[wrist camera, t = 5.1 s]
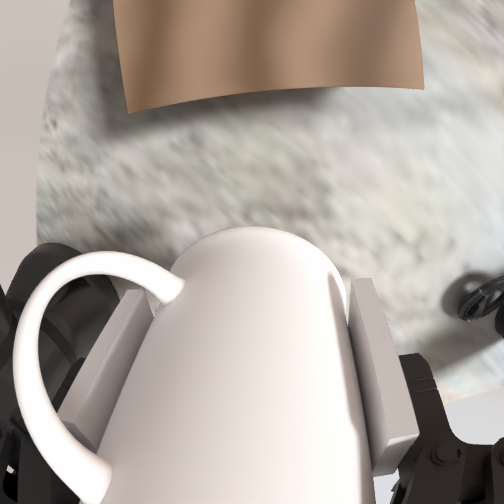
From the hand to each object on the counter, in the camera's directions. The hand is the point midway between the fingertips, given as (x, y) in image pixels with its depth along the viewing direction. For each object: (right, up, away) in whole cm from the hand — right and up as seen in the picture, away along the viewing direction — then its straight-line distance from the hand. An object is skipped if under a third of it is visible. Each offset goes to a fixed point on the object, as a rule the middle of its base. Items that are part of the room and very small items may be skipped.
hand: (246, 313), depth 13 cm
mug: (-1, +1, +2) cm, 3 cm away
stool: (+1, +23, +6) cm, 23 cm away
